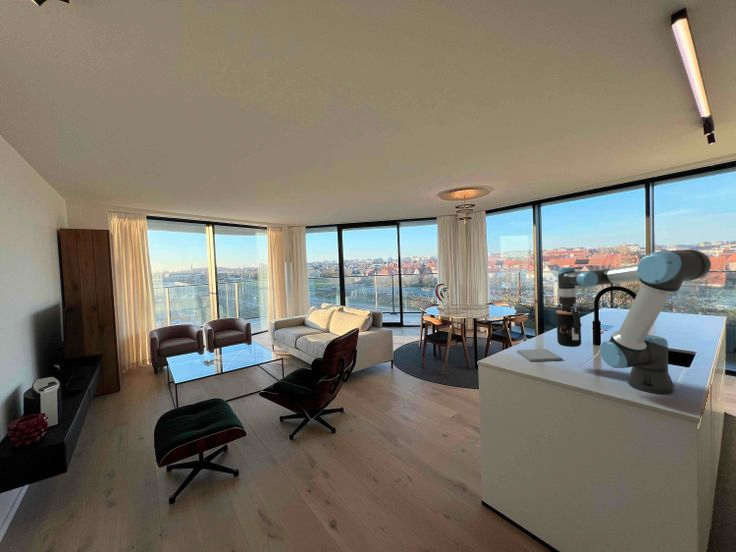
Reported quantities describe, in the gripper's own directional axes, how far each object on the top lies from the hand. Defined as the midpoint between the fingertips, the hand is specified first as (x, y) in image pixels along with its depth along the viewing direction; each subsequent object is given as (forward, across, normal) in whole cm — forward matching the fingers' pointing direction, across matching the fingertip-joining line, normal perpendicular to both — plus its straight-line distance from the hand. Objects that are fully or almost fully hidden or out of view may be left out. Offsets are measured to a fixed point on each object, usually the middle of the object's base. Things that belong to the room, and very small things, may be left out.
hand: (569, 337), depth 161 cm
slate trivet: (+16, +20, +7) cm, 26 cm away
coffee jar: (+4, 0, 0) cm, 4 cm away
